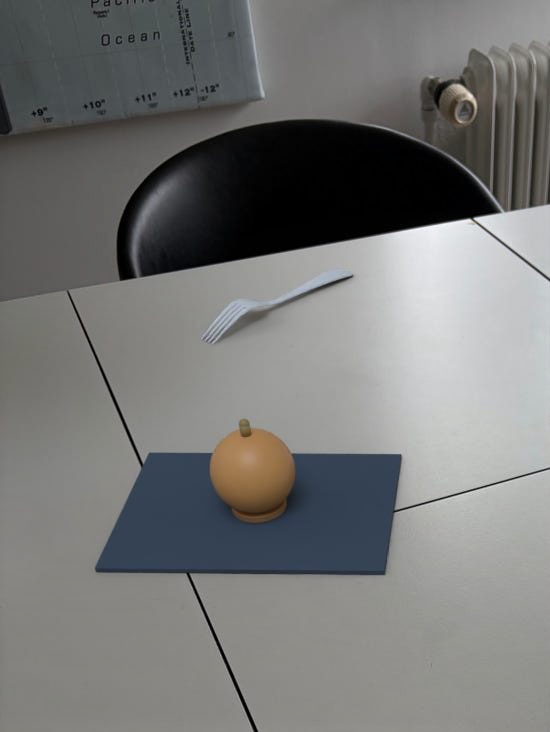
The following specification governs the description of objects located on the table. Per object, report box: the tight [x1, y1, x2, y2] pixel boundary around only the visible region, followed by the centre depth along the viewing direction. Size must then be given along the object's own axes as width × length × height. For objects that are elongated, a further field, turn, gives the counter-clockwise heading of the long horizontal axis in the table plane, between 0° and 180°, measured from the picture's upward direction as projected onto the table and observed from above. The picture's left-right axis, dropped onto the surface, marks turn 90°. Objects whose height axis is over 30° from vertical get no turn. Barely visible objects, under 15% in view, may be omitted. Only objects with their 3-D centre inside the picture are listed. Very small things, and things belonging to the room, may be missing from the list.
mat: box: [94, 451, 403, 576], centre depth 84 cm, size 22×16×1 cm
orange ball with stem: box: [210, 418, 295, 523], centre depth 81 cm, size 7×7×8 cm
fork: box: [200, 268, 354, 345], centre depth 112 cm, size 3×21×3 cm, turn 142°
